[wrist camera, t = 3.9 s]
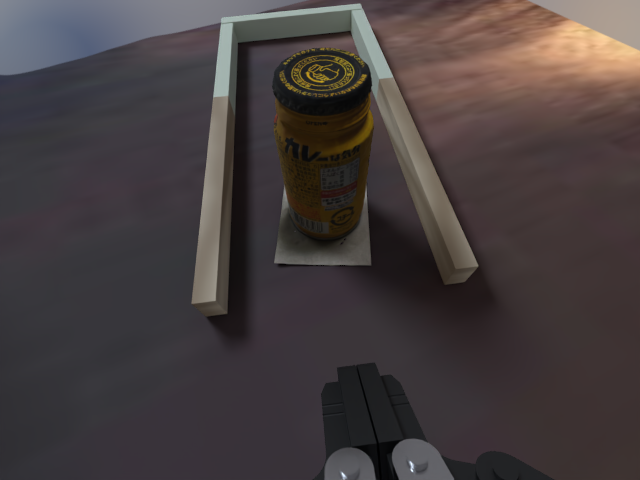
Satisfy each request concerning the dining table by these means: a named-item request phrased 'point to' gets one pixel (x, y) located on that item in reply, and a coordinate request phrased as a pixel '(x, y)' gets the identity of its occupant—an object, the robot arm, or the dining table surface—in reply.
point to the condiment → (323, 157)
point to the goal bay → (295, 26)
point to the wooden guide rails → (416, 169)
